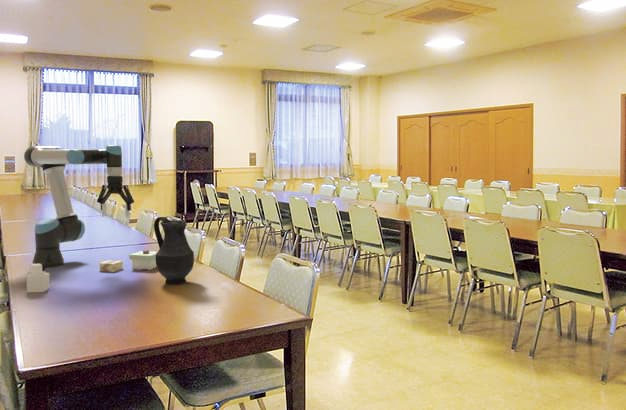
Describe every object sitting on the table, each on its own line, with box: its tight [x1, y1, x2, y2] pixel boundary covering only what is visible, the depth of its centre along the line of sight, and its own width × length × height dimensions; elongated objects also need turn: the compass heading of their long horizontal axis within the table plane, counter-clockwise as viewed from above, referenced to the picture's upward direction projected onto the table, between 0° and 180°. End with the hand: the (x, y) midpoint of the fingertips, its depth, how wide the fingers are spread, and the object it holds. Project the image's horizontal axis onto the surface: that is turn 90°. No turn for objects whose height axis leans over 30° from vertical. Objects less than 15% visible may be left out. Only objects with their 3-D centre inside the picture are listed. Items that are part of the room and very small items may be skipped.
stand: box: [99, 259, 124, 273], centre depth 295 cm, size 8×8×4 cm
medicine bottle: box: [25, 262, 51, 294], centre depth 250 cm, size 7×7×12 cm
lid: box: [128, 249, 158, 261], centre depth 301 cm, size 12×12×4 cm
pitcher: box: [153, 216, 195, 286], centre depth 267 cm, size 17×21×30 cm
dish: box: [131, 259, 157, 271], centre depth 301 cm, size 10×10×5 cm
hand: (115, 216), depth 300 cm, fingers open, 13 cm apart
